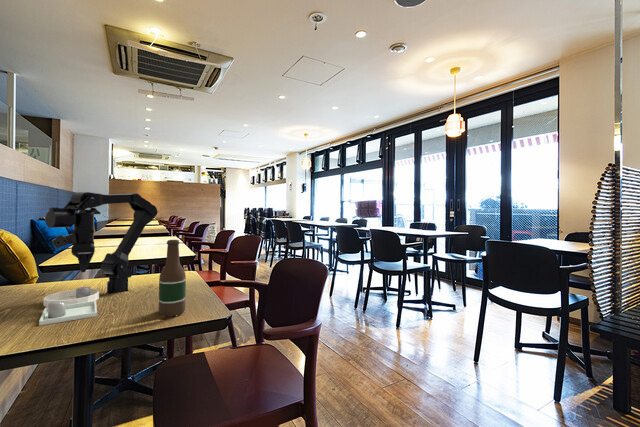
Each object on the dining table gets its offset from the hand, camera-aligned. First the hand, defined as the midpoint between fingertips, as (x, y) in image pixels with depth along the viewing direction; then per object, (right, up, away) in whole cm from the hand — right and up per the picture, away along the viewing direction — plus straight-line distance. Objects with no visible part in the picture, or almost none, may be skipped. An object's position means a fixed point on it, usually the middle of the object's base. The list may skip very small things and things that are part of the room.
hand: (83, 270), depth 108 cm
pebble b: (+5, -11, -17) cm, 20 cm away
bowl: (-3, -11, -2) cm, 12 cm away
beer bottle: (+37, -12, -10) cm, 41 cm away
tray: (+8, -12, -15) cm, 20 cm away
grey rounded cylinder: (0, -11, 0) cm, 11 cm away
